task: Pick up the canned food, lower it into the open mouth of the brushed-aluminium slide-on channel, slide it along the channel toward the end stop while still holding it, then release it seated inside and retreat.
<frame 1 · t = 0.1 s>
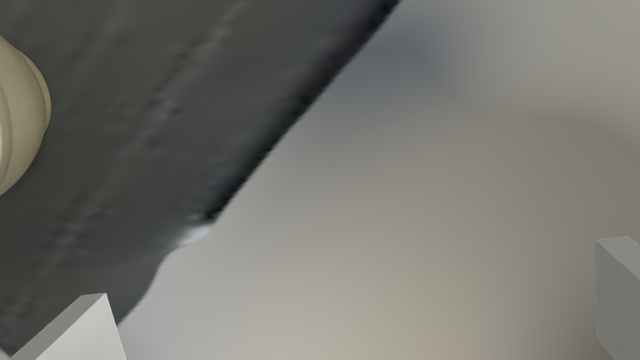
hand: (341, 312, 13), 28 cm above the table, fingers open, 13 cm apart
planter bowl: (3, 98, 42), on the table
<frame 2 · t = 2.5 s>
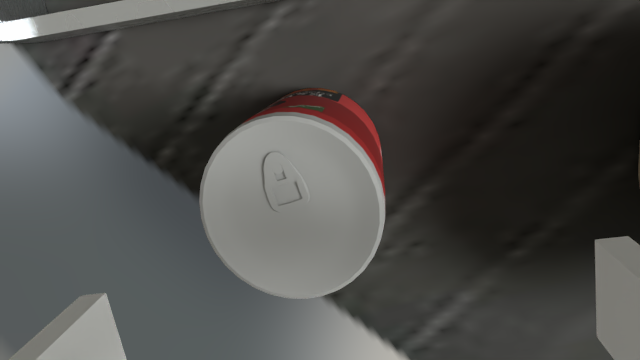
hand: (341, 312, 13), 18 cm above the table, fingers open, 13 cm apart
canned food: (319, 150, 30), on the table
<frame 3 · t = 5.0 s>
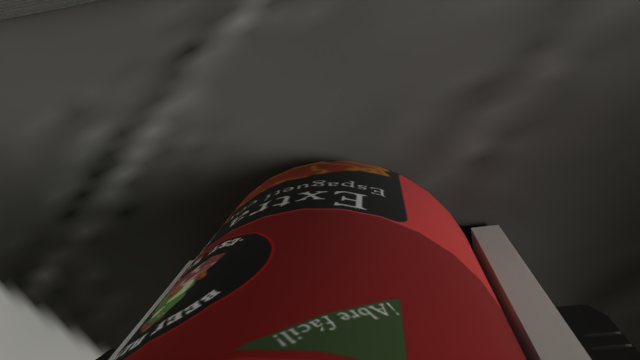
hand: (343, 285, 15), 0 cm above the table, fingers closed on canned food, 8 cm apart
canned food: (345, 276, 15), on the table, touching gripper
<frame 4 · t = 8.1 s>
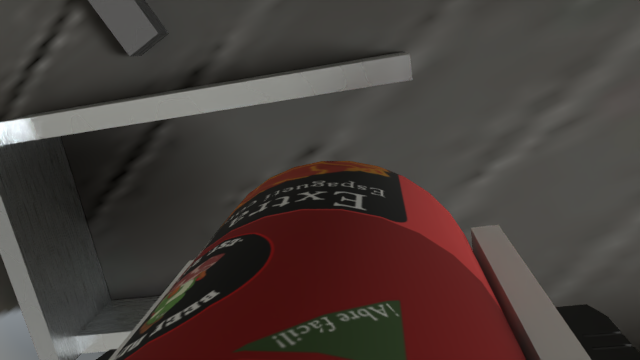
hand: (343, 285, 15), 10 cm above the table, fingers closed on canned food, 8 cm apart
channel: (243, 198, 25), on the table
canned food: (344, 277, 15), point 10 cm above the table, touching gripper
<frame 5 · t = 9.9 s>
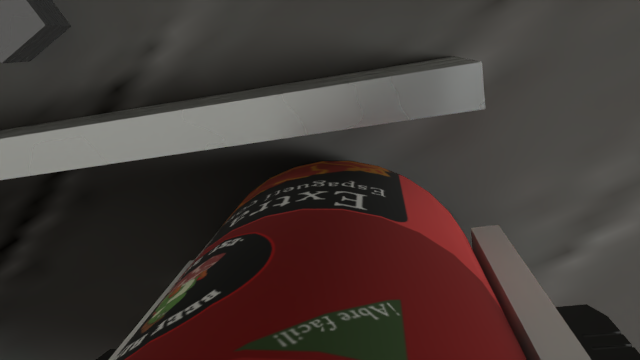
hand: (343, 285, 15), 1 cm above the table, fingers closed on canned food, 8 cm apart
channel: (198, 282, 16), on the table
canned food: (345, 276, 15), point 1 cm above the table, touching gripper
when the fingers open (1 cm above the table, at t = 11.3 s): canned food stays where it is, resting in channel.
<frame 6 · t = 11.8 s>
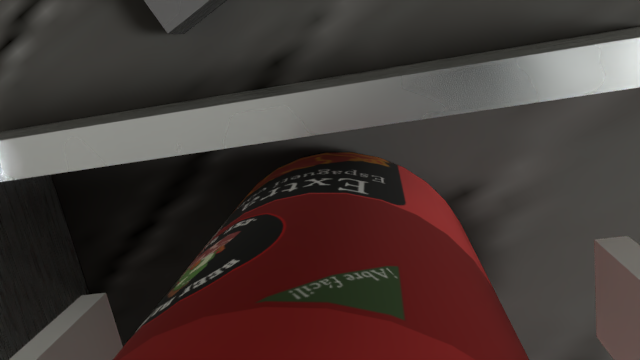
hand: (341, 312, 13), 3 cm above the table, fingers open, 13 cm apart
channel: (345, 267, 16), on the table
canned food: (347, 263, 16), resting in channel
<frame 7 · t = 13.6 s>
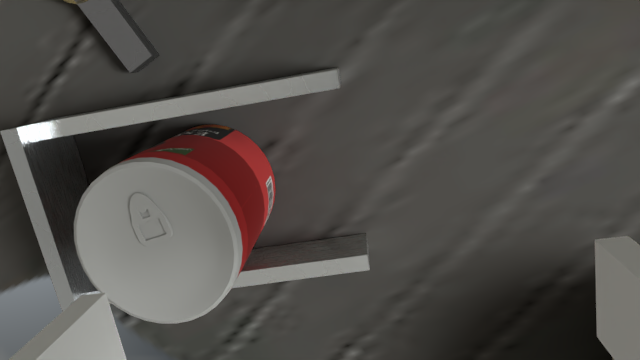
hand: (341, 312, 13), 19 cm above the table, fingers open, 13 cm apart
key: (118, 22, 30), on the table
channel: (220, 182, 32), on the table
canned food: (221, 180, 33), resting in channel
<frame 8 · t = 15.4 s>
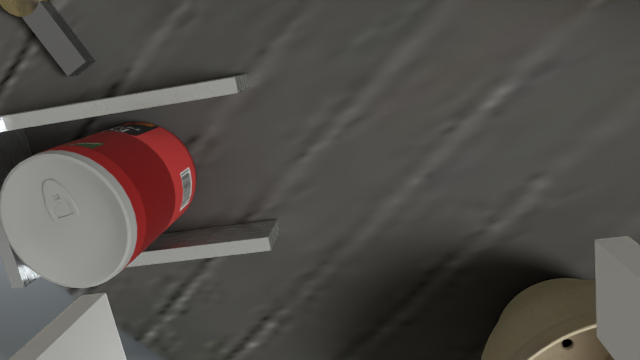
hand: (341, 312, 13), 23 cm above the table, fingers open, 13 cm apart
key: (58, 32, 35), on the table
planter bowl: (558, 331, 38), on the table
channel: (150, 172, 37), on the table
canned food: (151, 171, 37), resting in channel
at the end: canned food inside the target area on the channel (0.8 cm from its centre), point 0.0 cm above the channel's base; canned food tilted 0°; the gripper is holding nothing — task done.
